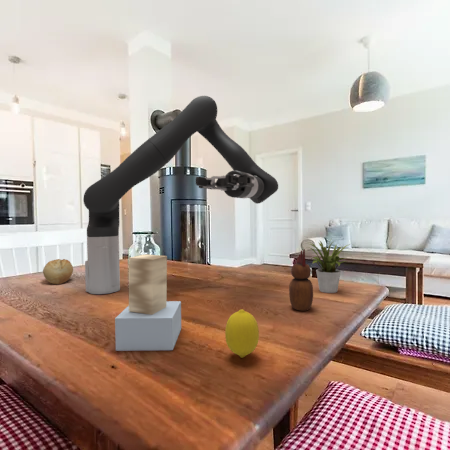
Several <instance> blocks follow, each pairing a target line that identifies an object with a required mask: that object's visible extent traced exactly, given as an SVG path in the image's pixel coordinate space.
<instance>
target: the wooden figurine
mask: <svg viewBox="0 0 450 450" xmlns="http://www.w3.org/2000/svg"><path fill="white" fill-rule="evenodd" d="M311 272H312V270H311V267H310V265H309V264H308V263H306V251H305V249H304V248H303V250H300V254H298V256H297V259H296V263H294V264H293V265H292V266H291V273H290V274H291V276H292V277H293V278H292V279H291V280H290V283H289V287H288V296H289V301H290V304H291V307H292V308H293V309H294V310H296V311H301V312H305V311H308V310H310V309H311V307H312V305H313V301H314V300H313V299H314V285H313V282H312V281H311V280H310V276H311V274H312V273H311Z"/></svg>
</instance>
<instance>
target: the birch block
mask: <svg viewBox="0 0 450 450" xmlns="http://www.w3.org/2000/svg"><path fill="white" fill-rule="evenodd" d="M167 273H168V256H167V255H161V254H160V255H158V254H141V255H140V254H139V255H135V256H130V257H128V306H129V311H130V312H137V313H143V314H150V315H153V314H154V313H156V312H158V311H160V310H162V309H163V308H165V307H166V301H167V295H168V294H167V291H168V287H167V285H168V284H167V282H168V280H167V278H168V274H167Z"/></svg>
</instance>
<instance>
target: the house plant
mask: <svg viewBox="0 0 450 450" xmlns="http://www.w3.org/2000/svg"><path fill="white" fill-rule="evenodd" d="M332 238H333V237H331V239H330V240H329V243H328V247H327V246H324V243H323V242H322V241H321V240H319V241H318V244H319V246H320V249H319V248H318V247H317V246H316V245H315V244H314V243H313V242H310V241H309V245H311V246H312V247H313V248H312V247H309V246H307V247H306V248H307V249H310V250H312V251H313V252H314V253H315V255H316V256H313V257H310V259H311V260H313V261H312V264H311V265H313V264H315V263H316V264H317V265H318V266H319V267H320V268H317V269H316V270H315V272H316V277H317V284H318V290H319V292H322V293H326V294H335V293H337V292H338V289H339V284H340V278H341V273H342V272H341V269H340V270H339V269H337V268H338V267H340V265H341V264H342V263H344V262H348V261H347V260H345V259H346V257H340V256H339V255H340V253H341V252H342V251H343V250H344V249H345V248H347V247H348V246H350V245H351V243H349V244H347V245H345V246H344V245H342V246H339V247H338V246H337V243H336V244H335V245H334V248H333V249H332V250H333V251H332V253H331V255H330V249H331V246H332V244H333V243H334V241H332ZM331 241H332V242H331ZM305 242H307V243H308V241H306V240H305ZM337 247H338V248H337ZM314 248H315V250H314ZM321 251H322V252H321ZM317 252H318V253H317ZM318 254H319V255H320V256H319V255H318ZM321 259H322V260H321ZM341 260H343V261H341ZM336 264H337V265H336Z"/></svg>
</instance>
